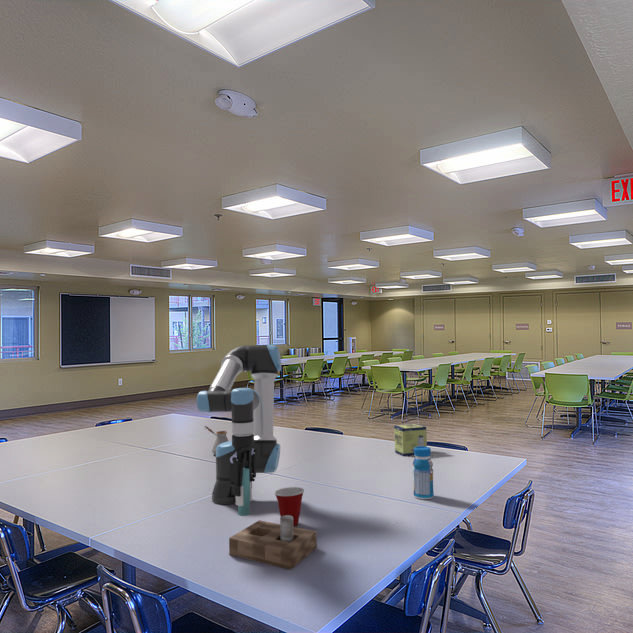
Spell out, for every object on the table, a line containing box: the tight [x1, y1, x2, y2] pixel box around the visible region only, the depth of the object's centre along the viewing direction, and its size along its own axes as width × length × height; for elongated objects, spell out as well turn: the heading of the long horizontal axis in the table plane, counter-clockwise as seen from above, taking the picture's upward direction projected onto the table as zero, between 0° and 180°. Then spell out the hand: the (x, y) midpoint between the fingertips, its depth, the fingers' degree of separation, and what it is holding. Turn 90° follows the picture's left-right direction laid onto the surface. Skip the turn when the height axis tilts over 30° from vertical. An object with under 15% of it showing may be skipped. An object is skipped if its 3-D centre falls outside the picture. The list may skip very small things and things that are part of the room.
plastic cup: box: [273, 486, 305, 527], centre depth 170 cm, size 11×11×12 cm
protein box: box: [393, 423, 428, 457], centre depth 271 cm, size 10×16×16 cm
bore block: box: [228, 515, 318, 571], centre depth 148 cm, size 16×22×11 cm
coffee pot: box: [204, 425, 229, 456], centre depth 280 cm, size 21×12×15 cm, turn 52°
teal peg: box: [237, 468, 251, 517], centre depth 161 cm, size 4×4×15 cm
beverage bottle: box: [412, 446, 435, 500], centre depth 196 cm, size 8×8×20 cm
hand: (243, 502), depth 161 cm, fingers closed on teal peg, 4 cm apart
